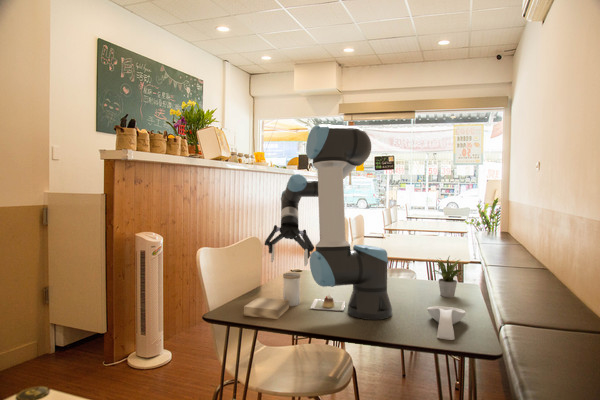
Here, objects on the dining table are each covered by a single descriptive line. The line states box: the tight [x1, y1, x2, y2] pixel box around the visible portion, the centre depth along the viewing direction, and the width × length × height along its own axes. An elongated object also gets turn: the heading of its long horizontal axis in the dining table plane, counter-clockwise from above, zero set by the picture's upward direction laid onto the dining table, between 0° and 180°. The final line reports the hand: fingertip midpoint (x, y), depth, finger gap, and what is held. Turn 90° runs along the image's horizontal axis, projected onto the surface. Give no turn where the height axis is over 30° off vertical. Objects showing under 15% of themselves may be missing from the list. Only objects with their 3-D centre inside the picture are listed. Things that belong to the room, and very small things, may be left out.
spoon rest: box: [426, 305, 466, 341], centre depth 127 cm, size 24×12×7 cm, turn 161°
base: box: [243, 297, 290, 320], centre depth 140 cm, size 12×12×3 cm
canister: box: [282, 272, 301, 307], centre depth 150 cm, size 6×6×11 cm
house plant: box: [427, 255, 464, 298], centre depth 163 cm, size 14×14×16 cm
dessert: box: [309, 294, 347, 312], centre depth 148 cm, size 12×12×5 cm
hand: (289, 262), depth 159 cm, fingers open, 13 cm apart
